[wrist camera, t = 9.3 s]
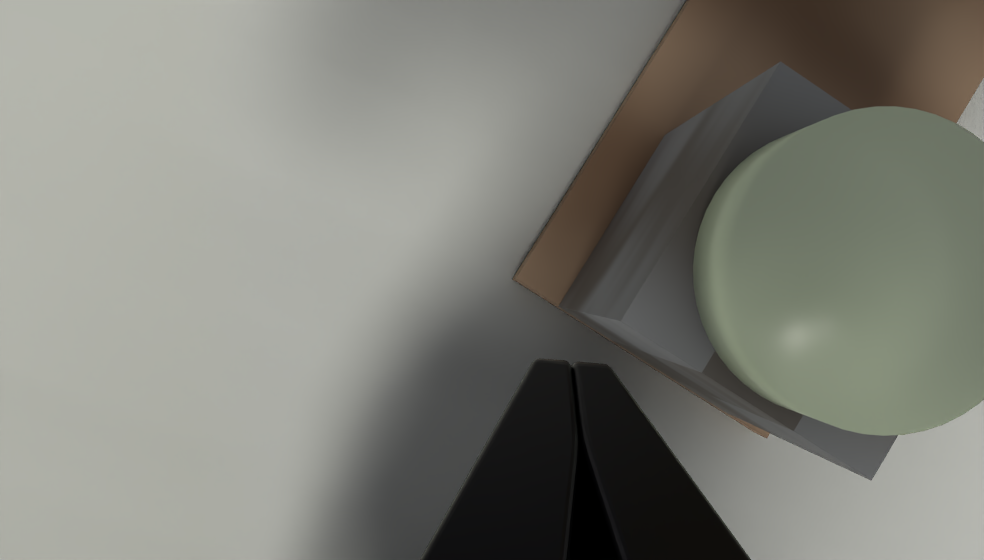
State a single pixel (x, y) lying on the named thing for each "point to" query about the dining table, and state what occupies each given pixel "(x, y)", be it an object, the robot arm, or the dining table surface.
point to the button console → (717, 152)
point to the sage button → (852, 271)
